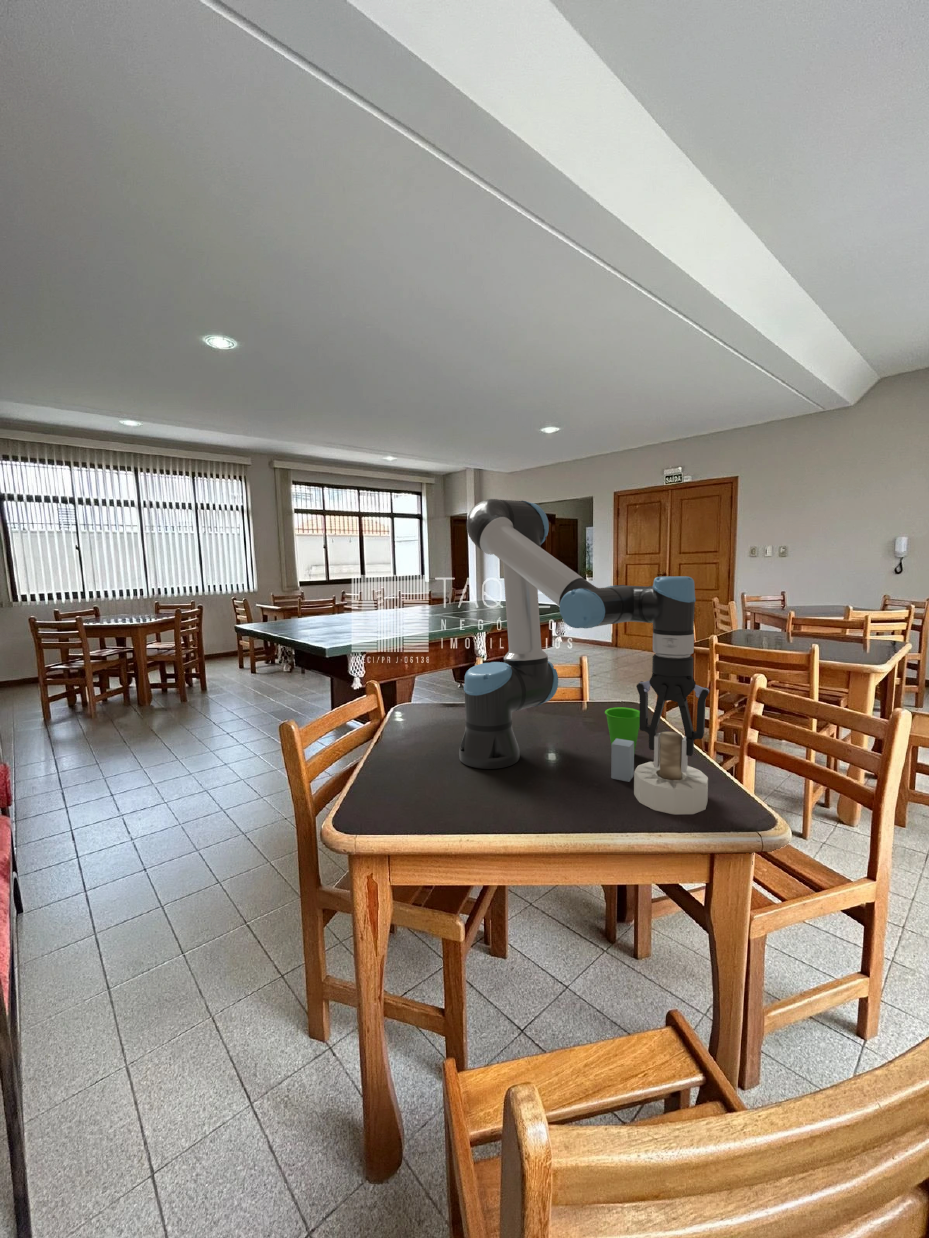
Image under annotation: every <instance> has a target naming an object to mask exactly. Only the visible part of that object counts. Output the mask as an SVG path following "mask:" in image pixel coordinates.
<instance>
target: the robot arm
mask: <svg viewBox="0 0 929 1238" xmlns="http://www.w3.org/2000/svg"><path fill="white" fill-rule="evenodd" d="M549 527H550V525H549V519H548V516H547V514H546V512H545V511H544V509H543V508H542V507H541V506H540V505H538V504H536V503H534V502H529V501H527V500H513V499H498V498H488V499H484V500H481V501H480V502H478V503H477V504H475V505H474V506H473V507H472V509H471V510H470V511H469V514H468V515H467V519H466V530H467V534H468V537H469V538H470V540H471V542H472V543H473V544H474V545H475V547H477V549H480V551H482V552H483V553H484V554H486V555H493V556H495V557H497V558H498V559H499V560H500V561H501V562H502V566H503V581H504V582H503V583H504V598H505V599H504V600H505V610H506V625H507V626H506V627H507V639H508V640H507V642H508V652H506V654H505V656H503V662H502V661H501V662H500V661H491V662H483V663H479V664H477V665H474V666H472V667H470V668H469V669H468V670H466V672H465V675H464V683H463V684H464V685H463V691H464V714H465V715H464V716H465V717H464V718H465V728H464V733H463V736H462V740H461V743H460V746H459V750H458V753H459V756H458V757H459V761H460V762H461V763H462V764H464V765H465V766H467V767H471V768H475V769H484V770H495V769H497V770H498V769H503V768H507V767H511V766H513V765H515V764H516V763H518V762H519V760H520V747H519V744H518V741H517V739H516V735H515V732H514V729H513V716H512V715H513V712H517V711H522V710H526V709H529V708H531V707H538V706H541V705H543V704H545V703H547V702H549V701H551V700H552V698H553V697H554V696H555V695H556V693H557V690H558V687H559V673H558V671H557V669H556V668H554V667H555V666H554V665H553V663H551V661H549V658H548V656H549V655H548V654H547V653H546V652H545V651H544V650H543V649H542V638H541V636H542V635H541V622H540V621H541V620H540V608H539V607H540V605H539V592H538V591H540V593H542V594H543V595H544V596H546V597H547V598H548V599H550V601H552V602H553V603H555V604H556V605H557V606H558V607H559V613H560V616H561V617H562V619H563V621H562V622H564V623H565V624H566V625H567V627H570V628H572V629H573V628H574V629H592V628H595V627H601V626H606V625H615V624H620V623H629V622H634V623H645V624H646V623H648V624H652V652H653V653H654V654H653V655H652V660H651V661H652V662H651V663H652V665H651V666H652V669H651V670H652V671H651V672H652V673H651V677H650V678H649V680H646V681H642V680H641V681H639V682H638V683H637V684H636V690H637V692H638V694H639V711H640V726H639V730H640V731H641V732H645V733H647V734H648V749H649V750H650V751H651V750H652V751H653V762H654V767H655V768H658V767H659V765H660V733H661V732H657V731H658V728H659V724H660V720H661V717H662V713H663V709H664V706H665V704H666V701H667V702H668V701H672V702H675V703H677V706H678V708H679V712H680V717H681V721H682V726H683V730H684V734H685V736H683V737H682V755H681V764H682V767H681V772H683V773H686V770H687V766H688V763H689V761H688V760H689V759H688V757H692V756H693V754H694V751H695V740H702V739H703V738H704V735H705V728H706V726H705V724H706V704H707V703H706V702H707V697H708V696H709V693H710V689H709V687H706V686H705V687H703V686H700V685H698V684H696V681H695V679H694V656H692V654H694V653H695V652H694V651H695V650H694V649H695V648H694V647H695V608H696V607H695V604H696V599H697V598H696V590H695V587H696V586H695V580H694V579H693V577H691V576H688V575H687V576H685V575H684V576H683V575H682V576H681V575H680V576H673V575H671V576H669V575H668V576H665V575H664V576H657V577H655V578H654V579H653V584H652V585H647V586H643V585H641V586H640V585H625V584H618V585H616V584H614V585H608V586H606V587H597V586H595V585H594V584H592V583H591V582H589V581H588V580H586V579H585V578H584V577H582V576H581V575H580V574H578V573H577V572H576V571H574V570H573V569H571V568H570V567H569V566H567V565H566V564H565V563H563V562H561V561H560V560H559V559H557V558H556V557H554V556H553V555H552V554H550V553H549V552H548V551H546V550H545V549H543V548H542V544H543V543H544V542H545V541H546V540H547V538H546V537H548V533H549ZM650 688H652V689H653V691H654V692H655V694H656V695H657V698H656V702H655V708H654V712H653V715H652V719H651V722H650V724H649V692H650V690H651V689H650ZM693 691H694V692H695V697H696V698H698V700H697V705H696V709H697V711H696V727H695V729H696V730H695V731H694V727H693V723H692V718H691V714H690V709H689V705H688V696H689V695H691V693H692V692H693Z"/></svg>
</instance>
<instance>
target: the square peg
mask: <svg viewBox="0 0 929 1238" xmlns="http://www.w3.org/2000/svg"><path fill="white" fill-rule="evenodd" d="M610 759H611V760H610V761H611V763H610V764H611V765H610V767H611V769H610V770H611V771H610V772H611V773H610V774H611V775H610V777H611V779H612V780H617V781H623V782H627V783H628V782H629V783H630V782H631V780H632V779H633V778H634V771H635V769H634V768H635V754H634V741H630V740H623V739H617V738H616V739H615V740H614V742H613V743H612V747H611V757H610Z"/></svg>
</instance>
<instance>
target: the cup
mask: <svg viewBox="0 0 929 1238" xmlns="http://www.w3.org/2000/svg"><path fill="white" fill-rule="evenodd" d="M604 714H605V715H606V721H607V728H608V732H609V738H610V744H611V748H612V743H613V742H614V740H615V739H616V738H617V739H623V740H630V741H634V755H635V754H636V753H635V752H636V746H637V741H638V737H639V732H640V731H639V730H640V709H639V710H638V709H636V708H632V707H621V706H619V707H617V706H616V707H610V708H608V709H605V711H604Z"/></svg>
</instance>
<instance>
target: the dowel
mask: <svg viewBox="0 0 929 1238" xmlns="http://www.w3.org/2000/svg"><path fill="white" fill-rule="evenodd" d="M659 733H660V777H661V778H663V779H667V780H681V764H682V740H683V735H682V734H681V733H678V732H675V731H662V732H659Z"/></svg>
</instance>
